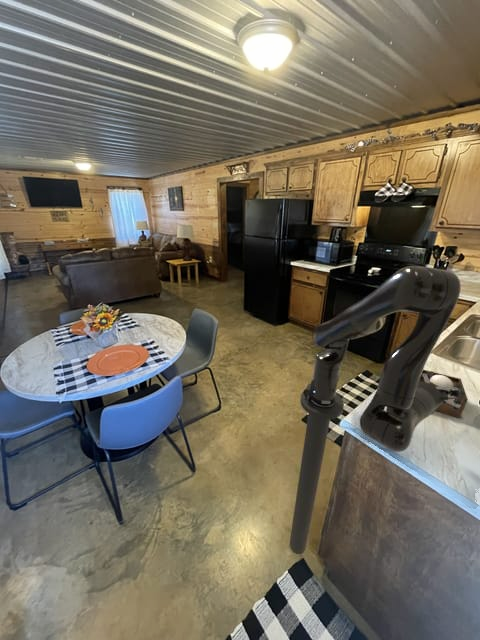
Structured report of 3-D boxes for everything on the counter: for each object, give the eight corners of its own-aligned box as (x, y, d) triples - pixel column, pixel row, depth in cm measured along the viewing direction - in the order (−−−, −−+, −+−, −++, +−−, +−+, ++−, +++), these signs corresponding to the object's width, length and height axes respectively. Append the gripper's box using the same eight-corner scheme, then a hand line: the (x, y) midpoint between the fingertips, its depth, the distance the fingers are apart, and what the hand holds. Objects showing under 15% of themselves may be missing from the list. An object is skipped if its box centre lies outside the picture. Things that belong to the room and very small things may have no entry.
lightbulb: (446, 417, 75) (459, 385, 71) (421, 410, 78) (433, 379, 73) (441, 403, 81) (453, 374, 76) (418, 398, 83) (429, 368, 79)
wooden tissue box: (407, 402, 100) (413, 384, 96) (407, 382, 111) (412, 366, 108) (459, 418, 92) (467, 399, 89) (453, 395, 103) (460, 378, 100)
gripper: (456, 405, 61) (480, 381, 70) (394, 375, 72) (421, 357, 81) (445, 429, 64) (470, 403, 73) (387, 397, 75) (414, 378, 84)
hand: (444, 379), depth 77 cm, fingers closed on lightbulb, 6 cm apart
